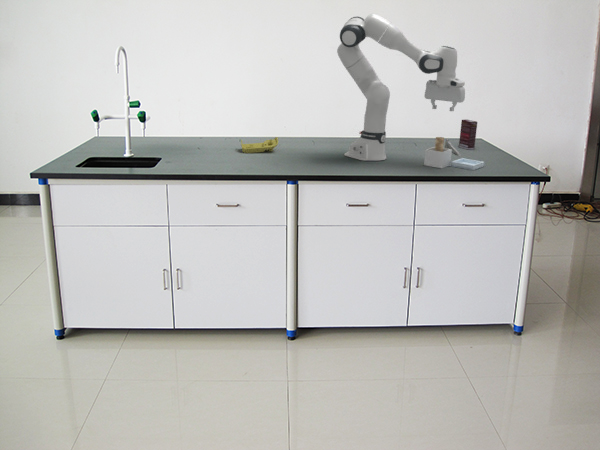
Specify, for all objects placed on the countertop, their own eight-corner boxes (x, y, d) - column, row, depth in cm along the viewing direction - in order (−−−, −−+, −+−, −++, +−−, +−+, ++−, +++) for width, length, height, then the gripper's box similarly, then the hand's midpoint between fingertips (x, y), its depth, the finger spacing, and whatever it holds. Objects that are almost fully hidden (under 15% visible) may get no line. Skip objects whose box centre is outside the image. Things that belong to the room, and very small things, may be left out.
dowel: (431, 165, 305) (434, 137, 301) (435, 163, 308) (438, 136, 303) (438, 166, 303) (441, 138, 298) (442, 165, 305) (445, 137, 301)
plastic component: (242, 149, 319) (240, 137, 326) (242, 160, 324) (241, 148, 331) (279, 146, 321) (277, 135, 328) (279, 157, 326) (277, 145, 333)
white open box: (424, 165, 305) (425, 149, 302) (433, 162, 312) (435, 146, 309) (441, 168, 299) (442, 152, 296) (450, 165, 306) (452, 149, 303)
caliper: (444, 149, 346) (445, 138, 344) (445, 149, 346) (447, 138, 344) (459, 156, 327) (460, 145, 325) (461, 156, 327) (462, 145, 325)
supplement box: (474, 149, 346) (478, 121, 341) (468, 149, 344) (471, 121, 339) (464, 146, 353) (467, 119, 348) (458, 146, 351) (461, 119, 346)
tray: (450, 166, 304) (451, 161, 303) (461, 162, 312) (462, 158, 312) (472, 170, 296) (473, 165, 296) (483, 166, 305) (484, 161, 304)
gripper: (423, 79, 296) (421, 108, 300) (461, 83, 283) (458, 113, 288) (429, 79, 300) (427, 107, 305) (467, 82, 288) (464, 111, 292)
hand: (442, 110), depth 296 cm, fingers open, 8 cm apart
